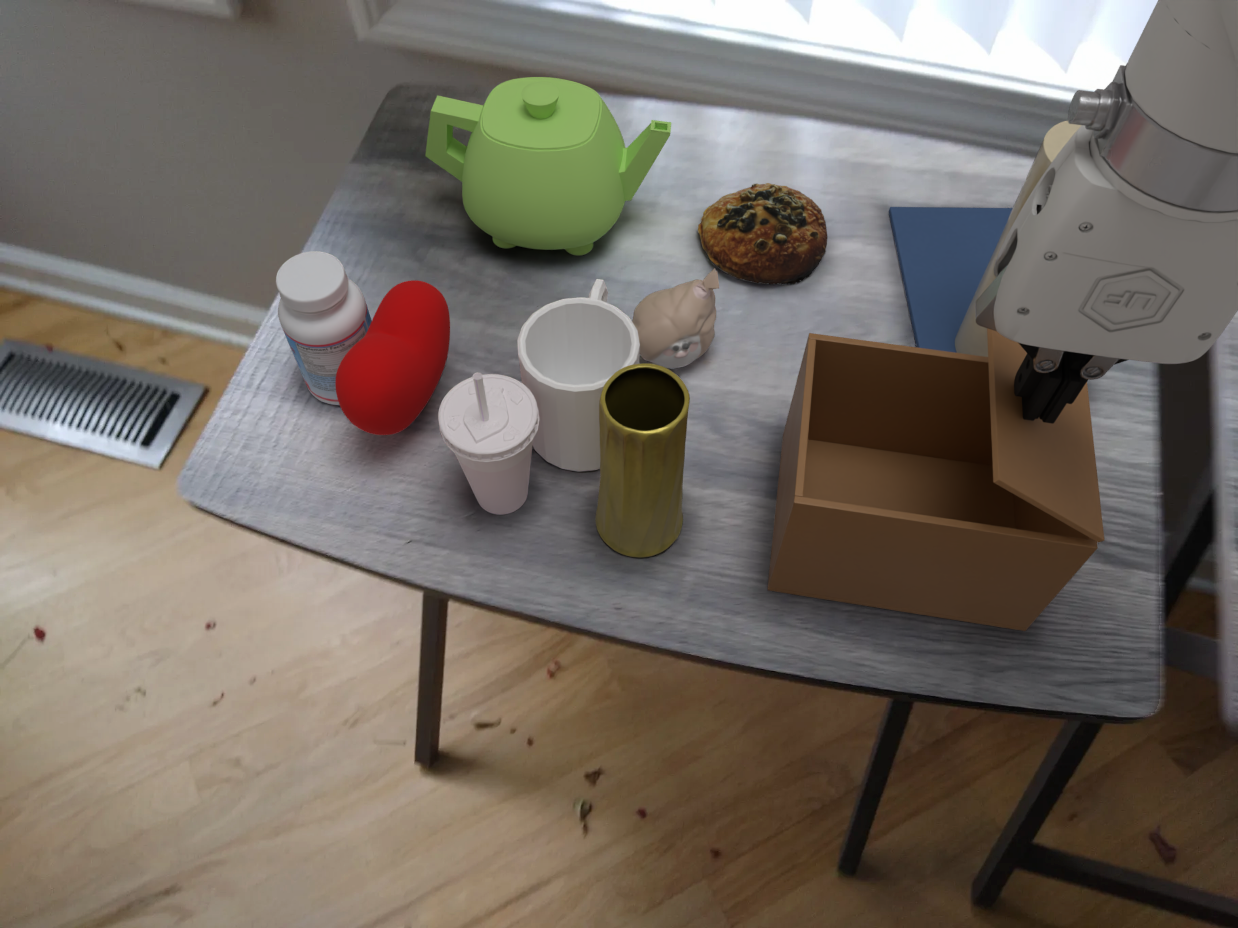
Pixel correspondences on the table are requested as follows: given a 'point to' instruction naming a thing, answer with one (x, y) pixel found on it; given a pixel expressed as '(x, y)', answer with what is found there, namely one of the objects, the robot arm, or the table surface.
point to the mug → (574, 372)
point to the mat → (943, 264)
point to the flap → (1042, 447)
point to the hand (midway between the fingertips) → (1036, 401)
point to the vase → (641, 459)
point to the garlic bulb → (677, 322)
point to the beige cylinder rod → (969, 333)
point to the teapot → (542, 162)
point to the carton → (908, 492)
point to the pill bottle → (320, 317)
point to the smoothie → (492, 437)
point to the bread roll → (765, 234)
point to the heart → (396, 360)
